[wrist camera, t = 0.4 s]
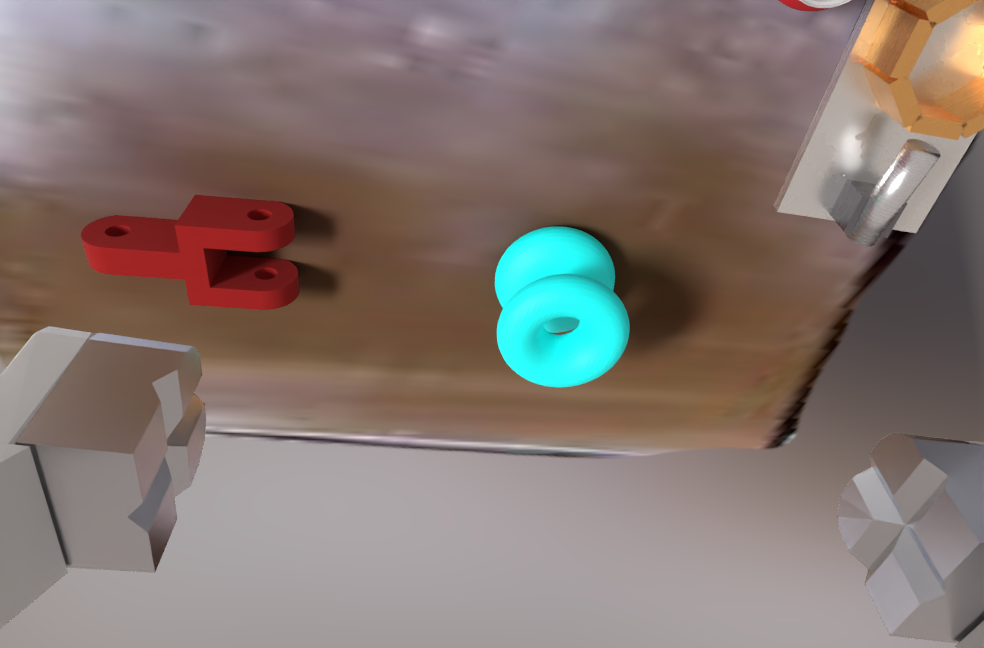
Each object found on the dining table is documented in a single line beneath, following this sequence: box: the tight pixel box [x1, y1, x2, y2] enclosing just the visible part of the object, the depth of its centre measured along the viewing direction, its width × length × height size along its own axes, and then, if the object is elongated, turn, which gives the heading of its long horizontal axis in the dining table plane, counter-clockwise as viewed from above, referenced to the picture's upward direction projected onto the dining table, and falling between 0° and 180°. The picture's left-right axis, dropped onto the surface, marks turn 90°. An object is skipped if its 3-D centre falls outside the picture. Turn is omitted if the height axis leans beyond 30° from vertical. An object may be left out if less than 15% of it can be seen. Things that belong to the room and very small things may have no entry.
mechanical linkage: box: [81, 195, 299, 310], centre depth 56 cm, size 16×7×5 cm, turn 84°
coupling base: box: [773, 0, 984, 247], centre depth 47 cm, size 28×12×6 cm, turn 170°
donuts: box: [495, 226, 630, 387], centre depth 56 cm, size 10×10×10 cm
